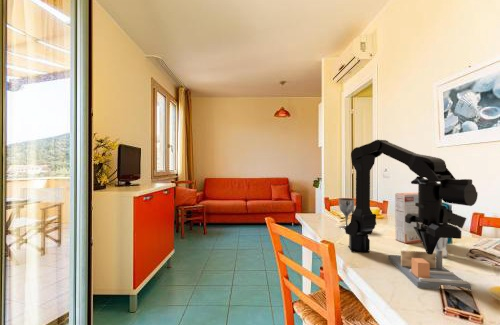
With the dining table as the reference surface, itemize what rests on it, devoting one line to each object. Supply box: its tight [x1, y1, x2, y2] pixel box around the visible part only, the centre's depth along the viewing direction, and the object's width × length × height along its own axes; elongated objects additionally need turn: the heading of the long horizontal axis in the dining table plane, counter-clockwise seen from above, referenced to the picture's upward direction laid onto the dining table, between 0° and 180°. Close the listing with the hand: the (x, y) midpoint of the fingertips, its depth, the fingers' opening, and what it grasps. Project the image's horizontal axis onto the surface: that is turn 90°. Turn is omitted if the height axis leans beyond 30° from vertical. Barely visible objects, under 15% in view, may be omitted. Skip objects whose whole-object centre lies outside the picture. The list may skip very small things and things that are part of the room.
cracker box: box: [394, 192, 422, 244], centre depth 112 cm, size 14×6×21 cm, turn 102°
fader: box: [411, 258, 430, 278], centre depth 73 cm, size 3×4×4 cm
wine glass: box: [338, 197, 356, 230], centre depth 135 cm, size 8×8×15 cm
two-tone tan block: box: [400, 250, 436, 268], centre depth 80 cm, size 10×1×4 cm, turn 81°
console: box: [388, 250, 472, 291], centre depth 79 cm, size 13×21×7 cm, turn 171°
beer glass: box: [434, 223, 449, 258], centre depth 95 cm, size 7×7×15 cm
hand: (429, 254), depth 75 cm, fingers closed
